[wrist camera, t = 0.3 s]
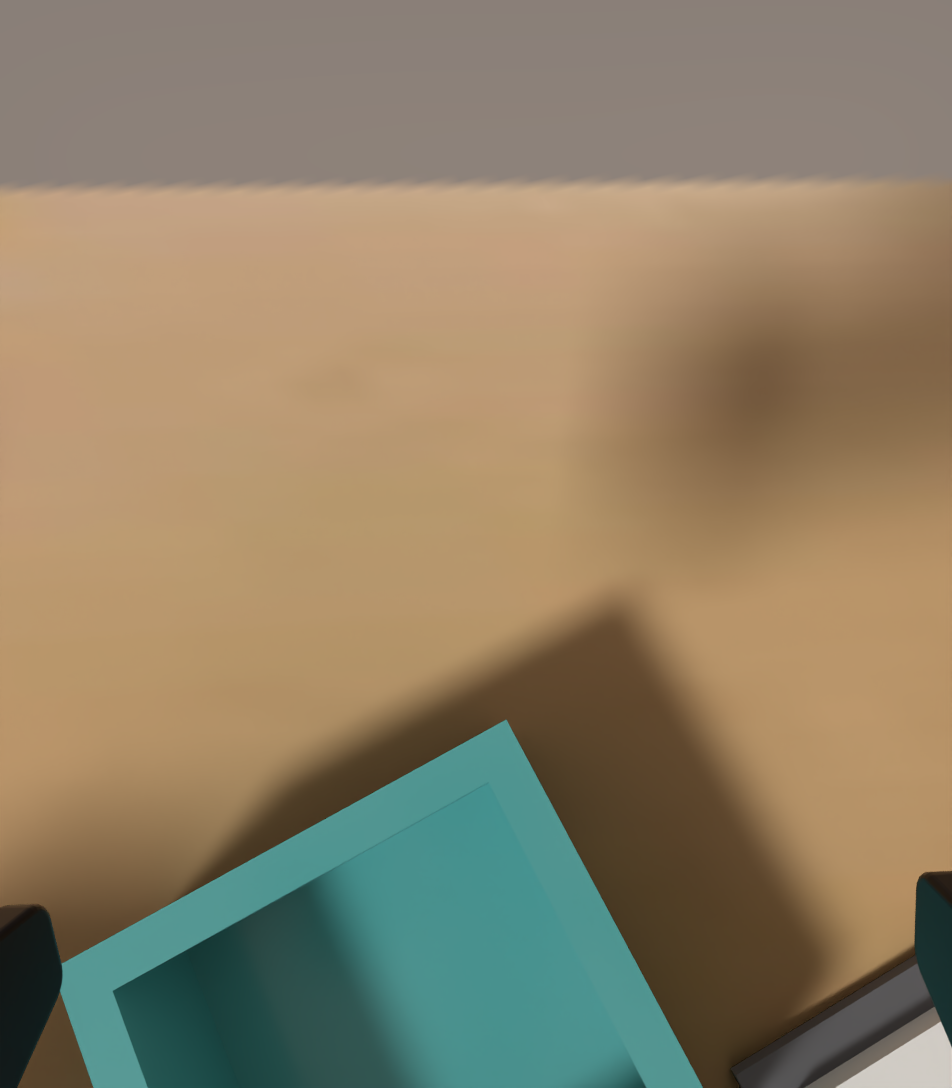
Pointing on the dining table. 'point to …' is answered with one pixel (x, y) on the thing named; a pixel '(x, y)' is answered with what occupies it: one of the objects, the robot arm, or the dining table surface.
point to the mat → (839, 1031)
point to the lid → (899, 1060)
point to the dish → (386, 956)
